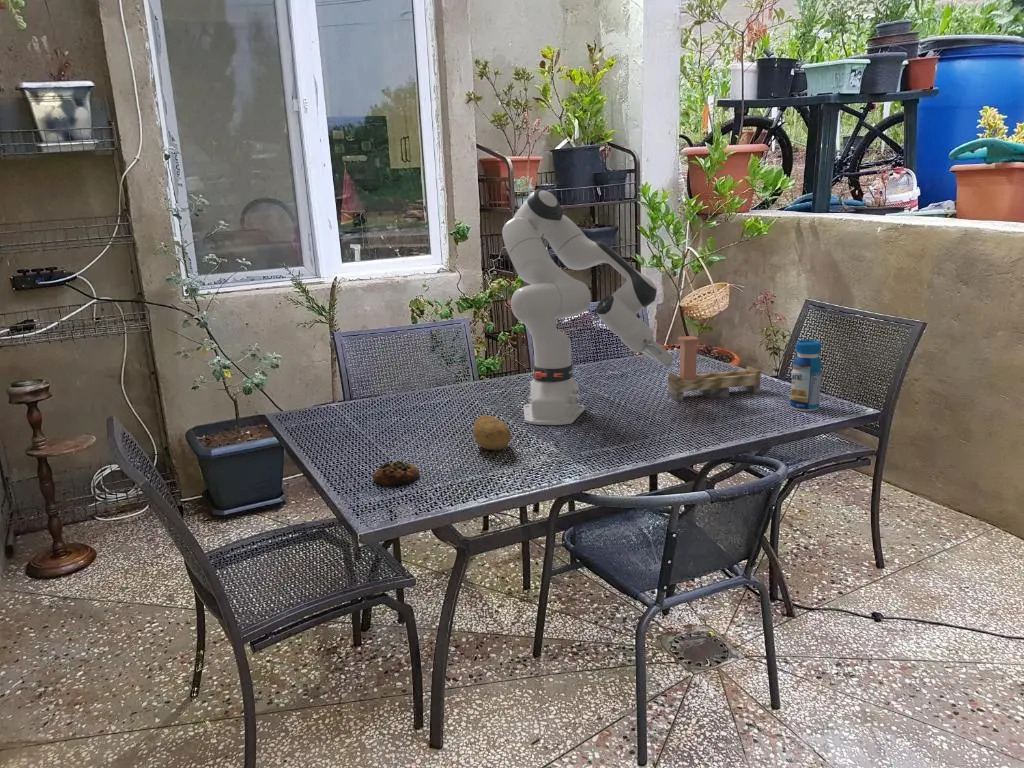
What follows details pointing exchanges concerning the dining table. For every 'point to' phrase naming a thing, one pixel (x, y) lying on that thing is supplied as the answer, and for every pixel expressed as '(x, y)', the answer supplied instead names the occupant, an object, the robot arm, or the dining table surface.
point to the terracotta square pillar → (688, 357)
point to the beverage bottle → (806, 376)
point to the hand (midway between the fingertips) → (668, 365)
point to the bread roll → (396, 474)
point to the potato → (491, 433)
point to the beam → (715, 383)
